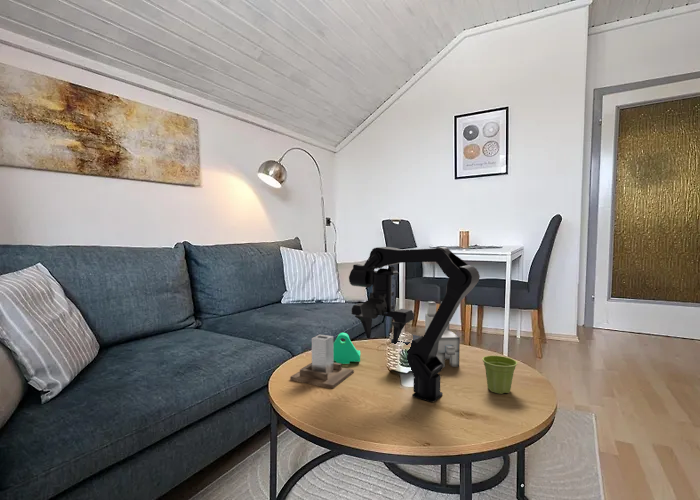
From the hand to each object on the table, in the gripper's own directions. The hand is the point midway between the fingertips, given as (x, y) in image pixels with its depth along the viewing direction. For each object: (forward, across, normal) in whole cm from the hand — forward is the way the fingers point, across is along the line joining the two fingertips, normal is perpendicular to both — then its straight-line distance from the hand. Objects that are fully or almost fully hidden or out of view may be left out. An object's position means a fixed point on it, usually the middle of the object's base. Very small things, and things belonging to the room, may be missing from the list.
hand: (381, 340), depth 115 cm
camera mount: (+14, -22, +10) cm, 28 cm away
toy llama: (+13, +7, +30) cm, 34 cm away
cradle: (+13, -18, -6) cm, 23 cm away
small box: (+13, 0, +16) cm, 21 cm away
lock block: (+12, -18, -6) cm, 22 cm away
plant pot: (+13, +30, +16) cm, 37 cm away
